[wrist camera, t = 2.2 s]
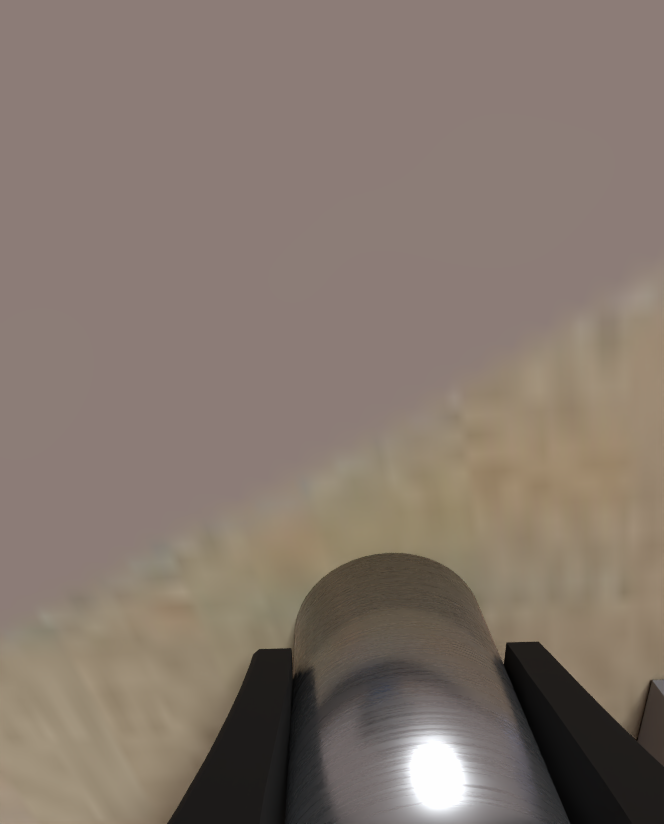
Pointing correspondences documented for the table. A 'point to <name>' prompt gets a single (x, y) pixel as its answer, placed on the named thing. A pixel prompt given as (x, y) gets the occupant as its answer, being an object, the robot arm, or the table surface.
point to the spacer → (407, 706)
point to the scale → (654, 722)
